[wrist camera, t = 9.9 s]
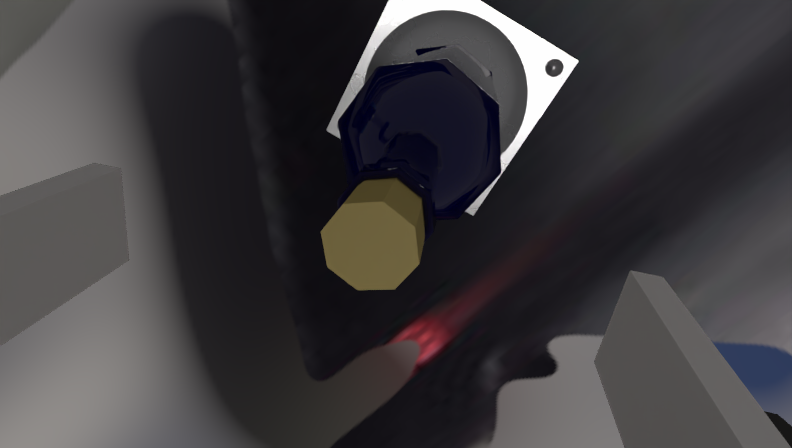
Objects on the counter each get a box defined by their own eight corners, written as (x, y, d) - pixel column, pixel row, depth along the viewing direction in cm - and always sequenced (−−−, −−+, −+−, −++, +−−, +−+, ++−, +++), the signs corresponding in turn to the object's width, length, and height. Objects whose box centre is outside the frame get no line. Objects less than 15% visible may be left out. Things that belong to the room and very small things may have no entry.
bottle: (377, 134, 43) (196, 326, 15) (405, 27, 39) (234, 24, 11) (475, 165, 42) (473, 419, 15) (513, 60, 38) (606, 140, 11)
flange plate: (327, 129, 45) (322, 132, 43) (410, -42, 38) (407, -45, 37) (473, 213, 46) (473, 219, 44) (577, 60, 39) (581, 61, 38)
